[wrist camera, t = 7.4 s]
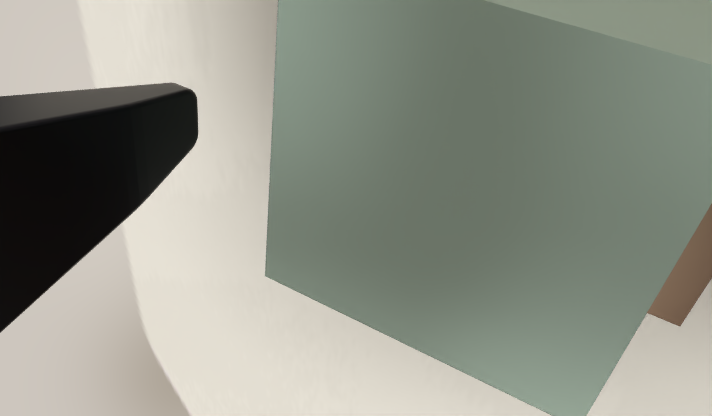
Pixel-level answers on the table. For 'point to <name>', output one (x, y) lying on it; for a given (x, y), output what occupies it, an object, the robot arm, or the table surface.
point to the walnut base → (687, 276)
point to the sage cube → (492, 175)
